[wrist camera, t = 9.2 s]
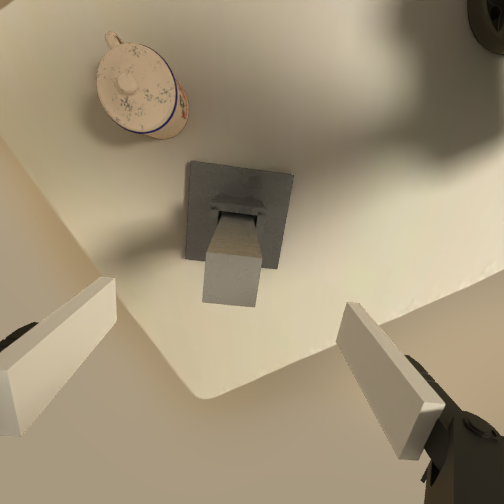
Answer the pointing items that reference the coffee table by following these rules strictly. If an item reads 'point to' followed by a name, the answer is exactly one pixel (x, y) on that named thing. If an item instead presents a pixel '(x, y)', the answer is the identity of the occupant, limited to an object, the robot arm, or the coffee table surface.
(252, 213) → the stand base
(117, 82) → the teacup with lid
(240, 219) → the column
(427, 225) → the coffee table surface
